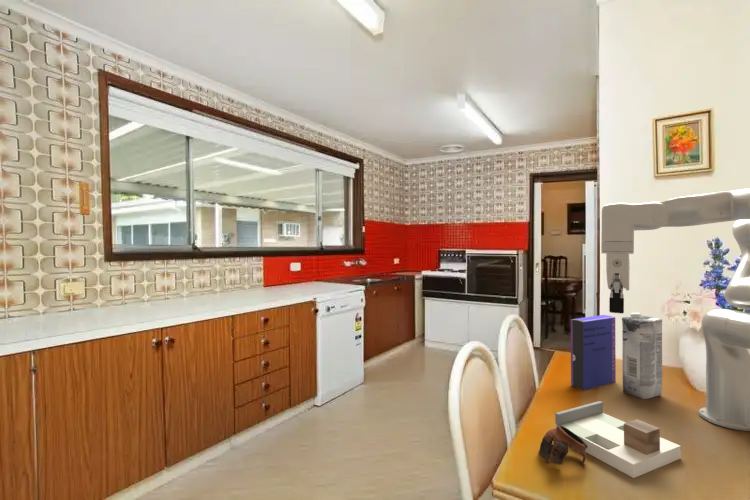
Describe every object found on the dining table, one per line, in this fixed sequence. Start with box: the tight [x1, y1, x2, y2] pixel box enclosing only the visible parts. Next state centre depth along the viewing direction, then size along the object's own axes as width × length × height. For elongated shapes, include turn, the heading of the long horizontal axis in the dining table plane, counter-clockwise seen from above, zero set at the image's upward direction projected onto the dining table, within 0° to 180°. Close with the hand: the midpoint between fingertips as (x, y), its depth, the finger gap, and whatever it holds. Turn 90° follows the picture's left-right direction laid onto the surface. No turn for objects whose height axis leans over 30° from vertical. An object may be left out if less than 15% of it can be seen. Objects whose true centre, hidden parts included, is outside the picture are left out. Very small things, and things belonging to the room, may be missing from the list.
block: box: [624, 419, 661, 455], centre depth 87 cm, size 5×5×5 cm
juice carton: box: [621, 312, 663, 400], centre depth 125 cm, size 9×10×27 cm
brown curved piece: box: [538, 425, 588, 466], centre depth 87 cm, size 12×10×8 cm
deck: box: [554, 400, 682, 479], centre depth 93 cm, size 20×18×6 cm
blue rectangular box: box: [570, 314, 617, 391], centre depth 134 cm, size 17×5×24 cm, turn 115°
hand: (616, 310), depth 103 cm, fingers open, 9 cm apart
